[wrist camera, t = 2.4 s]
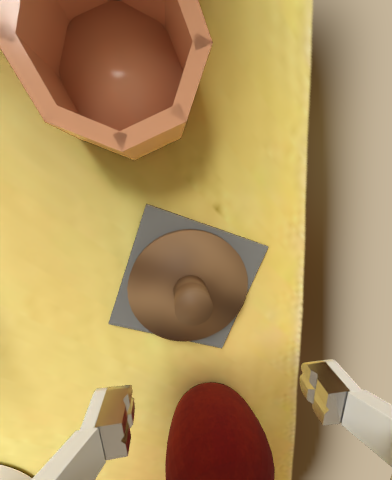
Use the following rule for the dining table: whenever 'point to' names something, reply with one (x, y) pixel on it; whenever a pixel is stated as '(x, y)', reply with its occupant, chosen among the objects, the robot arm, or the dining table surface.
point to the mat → (164, 222)
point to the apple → (216, 438)
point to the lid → (187, 285)
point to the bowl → (109, 66)
